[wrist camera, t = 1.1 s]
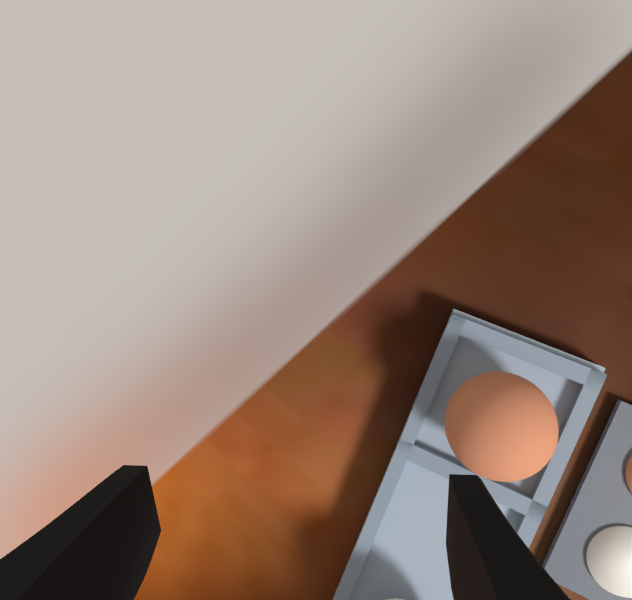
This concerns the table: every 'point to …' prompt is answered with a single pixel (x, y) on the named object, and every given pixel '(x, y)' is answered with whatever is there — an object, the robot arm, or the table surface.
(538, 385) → the board
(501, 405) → the rust ball
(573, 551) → the card
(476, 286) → the table surface
